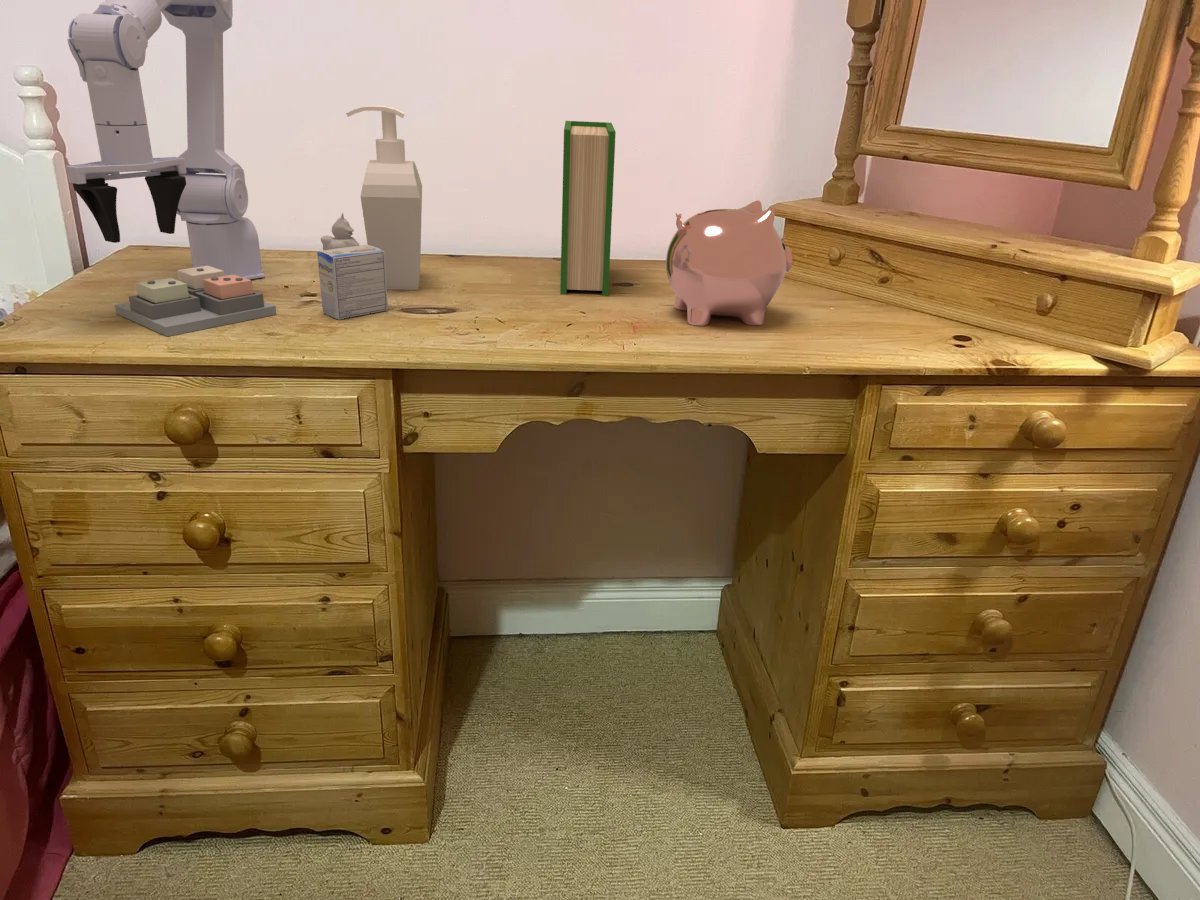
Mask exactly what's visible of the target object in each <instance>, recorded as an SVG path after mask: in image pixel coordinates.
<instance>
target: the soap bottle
mask: <svg viewBox="0 0 1200 900" xmlns="http://www.w3.org/2000/svg"><path fill="white" fill-rule="evenodd" d="M366 111H368V112H369V111H374V112H381V113H380V114H381V129H382V138H377V139H375V148H376V149H375V151H376V159H369V161H368V162H367V165H366V168H365V173H364V177H363V181H362V187H361V192H360V202H361V209H362V214H363V215H362V217H363V222H364V231H365V237H366V243H367V244H366V245H370V246H374V247H376V248H379V249H381V250H383V251H385V264H386V283H387V291H389V290H395V291H398V290H399V291H405V290H406V291H407V290H408V291H409V290H410V291H411V290H412V291H414V290H415V291H418V290H419V288H420V282H421V281H420V279H421V254H422V253H421V251H422V250H421V249H422V246H421V245H422V212H423V210H422V209H423V208H422V205H423V204H422V203H423V201H422V200H423V184H422V182H421V176H420V174H419V171H418V168H417V165H416V162H415V161H414V160H406V150H405V149H406V148H405V146H406V144H405V140H404V139H401V138H400V139H399V138H398V137H397V136H398V134H397V133H398V132H397V118H396V117H397V116H398V117H400V118H402V119H404V117H405V114H406V112H404V111H402V110H400V109H398V108H396V107H392V106H387V105H364V106H360V107H357V108H354V109H353V110H350V111H348V112H346V116H347V117H348V118H349V117H352V116H353V115H355V114H358V113H361V112H366Z"/></svg>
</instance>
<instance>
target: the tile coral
mask: <svg viewBox="0 0 1200 900" xmlns="http://www.w3.org/2000/svg"><path fill="white" fill-rule="evenodd" d="M203 285H204V292H205V293H206V294H209V295H212V296H214V297H217V298H220V299H226V298H232V297H238V296H243V295H249V294H253V291H254V289H253V283H252V279H246V278H243V277H240V276H237V275H227V276H221V277H213V278H209V279H203Z"/></svg>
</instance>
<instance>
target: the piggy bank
mask: <svg viewBox="0 0 1200 900" xmlns="http://www.w3.org/2000/svg"><path fill="white" fill-rule="evenodd" d="M762 207H763V206H762V202H761V201H760V200H755V201H752V202H751V203H749V204H747V205H746V206H742V207H740V208H735V209H734V208H733V209H732V208H719V209H709V210H705V211H701V212H698V213H696V214H694V215H692V216H691V217H689V218H688V219H686V220H685V221H684V222H682V213H677V212H675V217H676V221H675V225H676V229H677V230H676V231H675V233H674V235H673V236H672V238H671V240H670V242H669V245H668V248H667V251H666V256H665V270H666V275H667V279H668V281H669V285H670V287H671V289H672V291H673V293H674V294H675V299H674V304H673V308H674V309H675V310H678V311H687V312H686V315H687V316H686V317H687V318H686V319H687V320H686V321H687V324H688V325H691V326H693V327H705V326H708V325H709V324H710V321H711V317H712V316H718V317H737V318H740V320H741V321H742V322H743V324H745V325H748V326H762V325H764V323H765V314H766V309H767V308H768V306H769V304H770V303H771V302H772V300H773V299H774V297H775V295H776V293H777V292H778V291H779V289H780V287H781V285H782V283H783V281H784V279H785V276H786V273H788V272H790V271H791V268H792V263H793V255H792V254H793V253H792V249H791V248H790V247H789V246H786V245H785V243H784V242H783V240H782V238H781V237H780V235H779V234H778V231H777V230H776V227H775V226H774V221H775V216H776V209H775V207H769V208H767V209H765V210H763V208H762Z"/></svg>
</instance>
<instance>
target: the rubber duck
mask: <svg viewBox="0 0 1200 900" xmlns="http://www.w3.org/2000/svg"><path fill="white" fill-rule="evenodd" d="M354 231H355V230H354V229H353V228H352V226H351V225H350V223H349V221H348V219H345V217H344V212H342V213H341V215H340V217H338V218H337V220H336V221H335V222H334V223H333V225H332V226H331V233H332V235H333V236H331V235H323V236H321V237H320V242H321V243H322V251H323V250H330V249H337V248H345V247H353V246H361V245H360V243H359V242H358V241H357V240H356V238H354V237H353V236H352V235H353V232H354Z"/></svg>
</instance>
